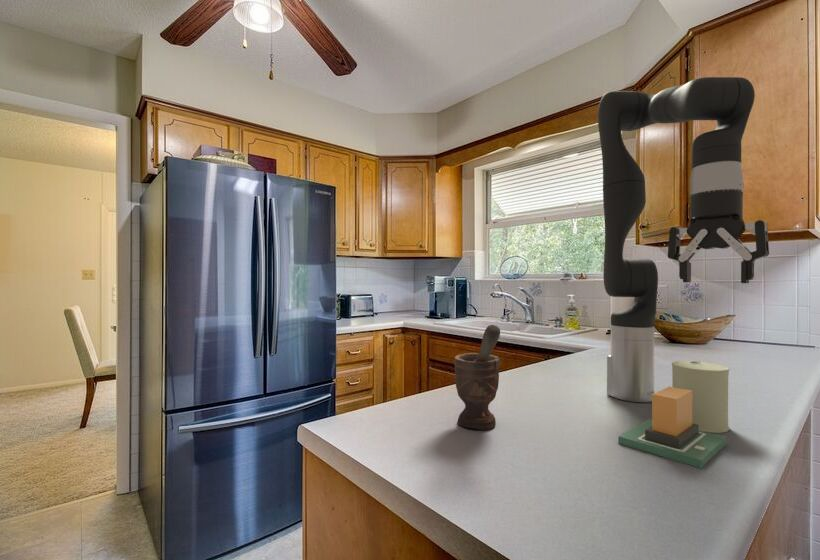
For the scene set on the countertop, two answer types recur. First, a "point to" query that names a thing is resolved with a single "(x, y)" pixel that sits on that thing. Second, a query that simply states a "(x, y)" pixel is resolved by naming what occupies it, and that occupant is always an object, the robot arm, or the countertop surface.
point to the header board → (672, 454)
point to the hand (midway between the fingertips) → (714, 282)
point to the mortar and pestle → (478, 382)
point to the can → (705, 393)
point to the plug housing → (672, 410)
